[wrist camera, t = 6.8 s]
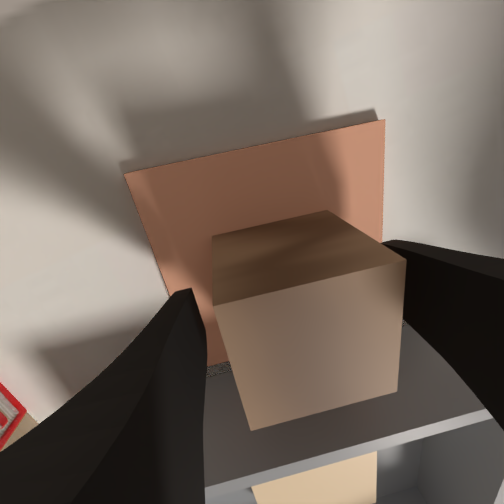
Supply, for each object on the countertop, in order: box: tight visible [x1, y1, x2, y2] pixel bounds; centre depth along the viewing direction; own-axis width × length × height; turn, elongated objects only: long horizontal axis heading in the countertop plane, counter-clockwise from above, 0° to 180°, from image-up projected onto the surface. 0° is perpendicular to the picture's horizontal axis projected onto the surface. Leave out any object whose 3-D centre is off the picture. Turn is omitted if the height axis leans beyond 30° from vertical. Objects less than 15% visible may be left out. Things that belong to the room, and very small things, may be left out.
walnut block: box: [212, 210, 407, 431], centre depth 10 cm, size 5×5×5 cm
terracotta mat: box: [124, 119, 385, 367], centre depth 12 cm, size 10×10×1 cm
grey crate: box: [203, 325, 504, 504], centre depth 17 cm, size 20×20×6 cm
